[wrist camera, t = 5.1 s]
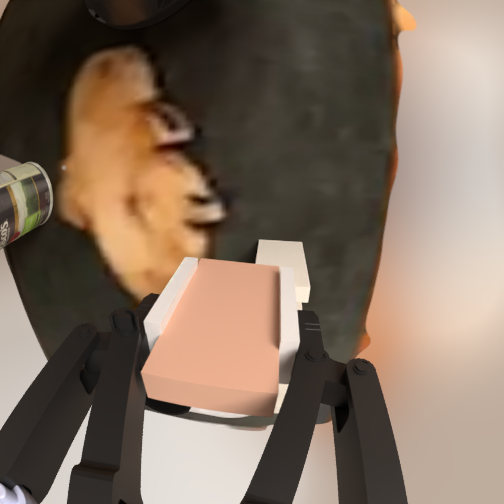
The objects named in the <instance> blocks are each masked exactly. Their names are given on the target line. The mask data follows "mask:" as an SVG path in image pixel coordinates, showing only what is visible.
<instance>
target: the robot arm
mask: <svg viewBox="0 0 504 504" xmlns="http://www.w3.org/2000/svg"><path fill="white" fill-rule="evenodd" d="M189 1H190V0H82V2H83V3H84V5H85V6H86V7H87V8H88V10H89V12H90V13H91V15H92V16H93V17H94V18H95V19H96V20H97V21H99V22H100V23H102V24H105V25H107V26H109V27H111V28H114V29H119V30H134V29H140V28H144V27H148V26H150V25H153V24H156V23H158V22H160V21H162V20H164V19H166V18H168V17H169V16H171V15H173V14H174V13H176V12H177V11H178V10H180V9H181V8H182V7H183V6H185V5H186V4H187V3H188V2H189ZM197 267H198V258H192V257H185V258H184V260H183V261H182V263H181V264H180V266H179V267H178V269H177V270H176V272H175V273H174V275H173V276H172V278H171V279H170V281H169V282H168V284H167V285H166V287H165V288H164V290H163V292H162V293H161V295H159V294H153V293H151V294H149V295H148V296H146V297H144V299H143V300H142V301H141V303H140V304H139V306H138V307H137V309H136V310H135V311H134V310H132V309H128V308H123V309H118V310H115V311H114V312H112V313H111V315H110V316H109V318H110V322H111V326H112V330H113V332H98V331H97V328H96V327H95V326H94V325H92V324H81V325H79V326H77V327H76V328H75V329H74V330H73V331H72V332H71V333H70V334H69V336H68V337H67V338H66V339H65V341H64V342H63V343H62V344H61V346H60V347H59V348H58V349H57V351H56V352H55V353H54V355H53V356H52V357H51V358H50V360H49V361H48V362H47V364H46V365H45V367H44V368H43V369H42V370H41V372H40V373H39V374H38V376H37V377H36V378H35V380H34V381H33V383H32V384H31V385H30V387H29V388H28V390H27V391H26V392H25V394H24V395H23V397H22V398H21V400H20V401H19V403H18V404H17V406H16V407H15V409H14V410H13V412H12V413H11V415H10V416H9V418H8V419H7V421H6V422H5V424H4V425H3V427H2V429H1V430H0V504H40V503H41V502H42V501H43V499H44V498H45V497H46V495H47V494H48V492H49V490H50V488H51V486H52V484H53V482H54V479H55V477H56V475H57V473H58V471H59V469H60V467H61V464H62V462H63V460H64V458H65V456H66V454H67V452H68V450H69V448H70V446H71V444H72V442H73V440H74V438H75V436H76V434H77V432H78V430H79V428H80V426H81V424H82V422H83V420H84V419H85V417H86V415H87V413H88V411H89V409H90V407H91V405H92V407H91V412H90V417H89V421H88V426H87V431H86V435H85V441H84V446H83V452H82V458H81V462H80V463H79V464H78V465H75V466H74V467H73V468H72V471H71V476H70V483H69V490H68V499H67V504H143V501H142V498H141V491H140V488H141V482H140V481H141V453H142V436H143V421H144V410H145V399H146V389H145V385H144V382H143V378H142V375H141V371H142V369H143V367H144V365H145V363H146V361H147V359H148V357H149V355H150V353H151V351H152V349H153V347H154V345H155V343H156V341H157V339H158V337H159V335H162V333H163V331H164V329H165V327H166V325H167V323H168V321H169V320H170V318H171V316H172V314H173V312H174V310H175V308H176V306H177V304H178V302H179V301H180V299H181V297H182V295H183V293H184V291H185V289H186V287H187V286H188V284H189V282H190V280H191V278H192V276H193V275H194V273H195V271H196V269H197ZM279 384H289V385H288V388H287V391H286V394H285V396H284V399H283V402H282V405H281V408H280V410H279V413H278V416H277V418H276V421H275V424H274V426H273V429H272V432H271V435H270V437H269V439H268V442H267V444H266V447H265V449H264V452H263V454H262V457H261V459H260V462H259V464H258V467H257V469H256V471H255V473H254V476H253V478H252V480H251V483H250V485H249V488H248V489H247V492H246V494H245V496H244V498H243V499H242V501H241V503H240V504H292V502H293V499H294V496H295V493H296V490H297V487H298V484H299V481H300V477H301V474H302V471H303V468H304V464H305V461H306V457H307V454H308V450H309V447H310V443H311V439H312V435H313V431H314V427H315V423H316V419H317V415H318V411H319V407H320V403H323V404H327V405H330V406H331V414H332V423H333V433H334V443H335V454H336V466H337V480H338V497H339V504H408V502H407V496H406V491H405V485H404V480H403V475H402V470H401V465H400V460H399V456H398V451H397V447H396V443H395V439H394V435H393V431H392V426H391V423H390V419H389V415H388V411H387V407H386V404H385V400H384V397H383V393H382V390H381V386H380V383H379V379H378V376H377V373H376V369H375V367H374V366H373V364H371V363H370V362H369V361H367V360H365V359H360V358H357V359H352V360H350V361H349V362H348V363H347V364H344V363H340V362H337V361H334V360H332V359H331V358H329V355H328V353H327V352H326V351H325V350H324V347H323V341H322V336H321V331H320V325H319V319H318V316H317V315H316V314H315V313H314V311H306V310H297V302H296V291H295V281H294V271H293V268H291V267H281V266H280V274H279Z"/></svg>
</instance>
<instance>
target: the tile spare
mask: <svg viewBox="0 0 504 504" xmlns="http://www.w3.org/2000/svg"><path fill="white" fill-rule="evenodd" d="M141 375H142V378H143V382H144V385H145V389H146V392H147V395H148V398H152V399H156V400H161V401H165V402H170V403H174V404H179V405H184V406H190V407H195V408H201V409H207V410H213V411H220V412H227V413H235V414H244V415H253V416H264V417H273V414H274V410H275V406H276V402H277V398H278V393H279V266H271V265H261V264H251V263H242V262H232V261H222V260H212V259H203V258H201V260H200V261H199V263H198V267H197V269H196V271H195V273H194V275H193V276H192V278H191V280H190V282H189V284H188V286H187V287H186V289H185V291H184V293H183V295H182V297H181V299H180V301H179V302H178V304H177V306H176V308H175V310H174V312H173V314H172V316H171V318H170V320H169V321H168V323H167V325H166V327H165V329H164V331H163V333H162V335H159V337H158V339H157V341H156V343H155V345H154V347H153V349H152V351H151V353H150V355H149V357H148V359H147V361H146V363H145V365H144V367H143V369H142V371H141Z"/></svg>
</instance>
